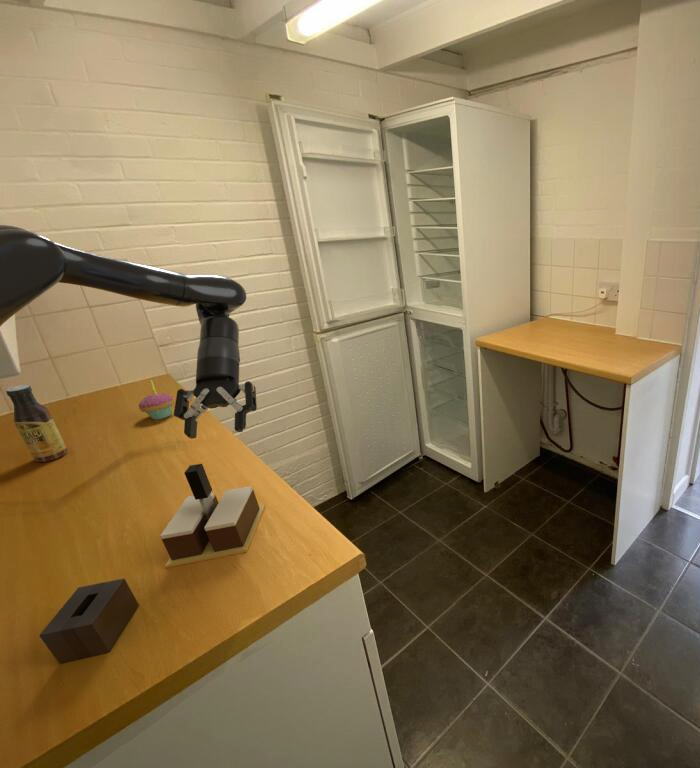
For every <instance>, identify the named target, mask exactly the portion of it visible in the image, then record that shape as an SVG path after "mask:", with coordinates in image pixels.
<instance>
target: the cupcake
mask: <svg viewBox="0 0 700 768" xmlns="http://www.w3.org/2000/svg"><path fill="white" fill-rule="evenodd" d="M149 384H150V387H151V389H152V394H151V395H147V396H145V397H143V398H142V399H141V400H140V402H139V403H138V409H139V410H140V411H141V412H142V413H146V414H147V415H148V416H149V417H150V418H151V419H152V420H161V419H165V418H167V417H169V416H171V415H172V405H175V399H174V397H173V395H170V394H168V393H160V392H159V393H158V392H157V390H156V387H155V384H154V381H153V380H152V378H151V377H150V378H149Z"/></svg>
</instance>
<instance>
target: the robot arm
mask: <svg viewBox="0 0 700 768" xmlns="http://www.w3.org/2000/svg"><path fill="white" fill-rule="evenodd" d="M57 283H59V284H69V285H75V286H80V287H87V288H91V289H96V290H101V291H105V292H110V293H114V294H116V295H120V296H125V297H129V298H133V299H138V300H141V301H146V302H151V303H155V304H157V303H158V304H162V305H168V306H175V307H182V308H183V307H184V308H185V307H186V308H187V307H190V306H193V305H195V310H196V316H197V318H198V322H199V324H200V330H199V331H200V333H199V343H198V344H199V345H198V348H197V356H196V357H197V358H196V371H195V372H196V373H195V387H194V388H193V389H191V390H184V389H183V388H180V389H178V390H177V391H176V397H175V402H174V410H173V416H174V417H176V418H178V419H179V420H181V421H184V425H183V426H184V427H183V434H184V435H185V436H186V437H187V438H189V439H191V440H192V439H197V436H198V435H197V433H198V432H197V431H198V421H197V420H198V419H199V418H200V417H201V415H202V414H205V413H207V411H208V410H209V409H210V410H213V409H218V408H227V407H228V406H232V408H233V409H234V410H235V411H236V412H234V431H235V432H237V433H243V431H244V430H245V429H246V427H247V414H248V413H250V412H255V411H256V410H257V408H258V405H257V389H256V385H254V384H253V383H252V382H251V381H245V383H243V384H239V383H240V362H241V357H240V347H239V343H240V342H239V340H240V339H239V338H240V329H239V325H238V323H237V321H236V320H235V319H233V318H232V317H230V315H231V313H233V312H234V311H236V310H237V309H239V308H240V307H242V306H243V305H244V304H245V303H246V300H247V292H246V289H245V288H244V287H243V286H242V284H240V283H239V282H238V281H236V280H234V279H231V278H229V277H226V276H221V275H213V274H212V275H211V274H187V273H182V272H178V271H174V270H169V269H165V268H161V267H157V266H151V265H148V264H142V263H137V262H133V261H132V262H131V261H127V260H122V259H116V258H112V257H107V256H103V255H99V254H96V253H91V252H87V251H83V250H80V249H76V248H73V247H69V246H67V245H63V244H60V243H57V242H55V241H53V240H51V239H49V238H48V237H45V236H44V235H41V234H38V233H35V232H33V231H31V230H28V229H25V228H23V227H19V226H15V225H7V224H0V327H2V326H3V325H4V324H5V323H6V322H7V321H8V320H9V319H10V318H12V317H13V316H14V315H16V314H17V313H19V312H20V311H21V310H22V309H24V308H25V307H27V306H28V305H29V304H30V303H32V302H34V301H35V300H36V299H38V298H39V297H40V296H42V295H43V294H45V293H46V292H48V291H49V290H50V289H51V288H53V287H54V286H55V285H57ZM241 391H242V393H243V394H244V399H245V404H244V405H242V404H241V402H239V401H238V399H236V398H237V397H238V395H239V394H240V393H241ZM194 397H195V399H194V400H193V398H194ZM191 401H193V402H192V403H191V404H190V402H191ZM189 405H190V407H189Z"/></svg>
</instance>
